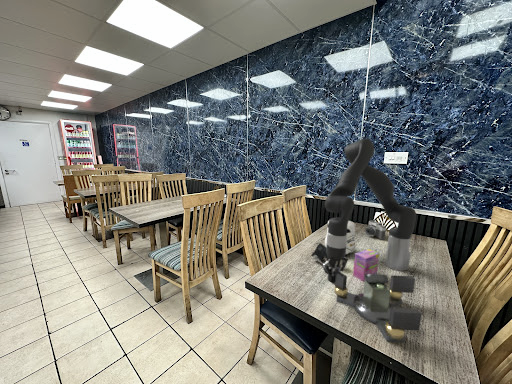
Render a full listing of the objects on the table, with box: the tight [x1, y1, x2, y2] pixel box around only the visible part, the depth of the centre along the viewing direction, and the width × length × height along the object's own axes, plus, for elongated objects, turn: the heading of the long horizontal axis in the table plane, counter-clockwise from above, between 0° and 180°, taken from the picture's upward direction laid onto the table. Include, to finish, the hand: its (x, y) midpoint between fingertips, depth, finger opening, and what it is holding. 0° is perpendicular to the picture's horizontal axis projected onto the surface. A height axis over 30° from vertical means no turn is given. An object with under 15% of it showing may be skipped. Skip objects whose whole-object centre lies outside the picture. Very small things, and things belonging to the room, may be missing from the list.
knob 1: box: [387, 274, 416, 300], centre depth 79 cm, size 9×5×8 cm, turn 86°
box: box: [352, 248, 380, 282], centre depth 96 cm, size 10×6×12 cm, turn 117°
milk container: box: [324, 220, 356, 255], centre depth 122 cm, size 17×17×18 cm
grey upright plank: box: [327, 270, 349, 297], centre depth 82 cm, size 9×5×8 cm, turn 26°
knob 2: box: [385, 307, 422, 340], centre depth 62 cm, size 9×5×8 cm, turn 86°
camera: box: [364, 219, 387, 240], centre depth 146 cm, size 16×10×10 cm, turn 4°
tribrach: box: [336, 273, 406, 343], centre depth 72 cm, size 25×22×14 cm
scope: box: [310, 242, 327, 264], centre depth 108 cm, size 8×14×10 cm, turn 42°
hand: (333, 281), depth 84 cm, fingers closed on grey upright plank, 2 cm apart
